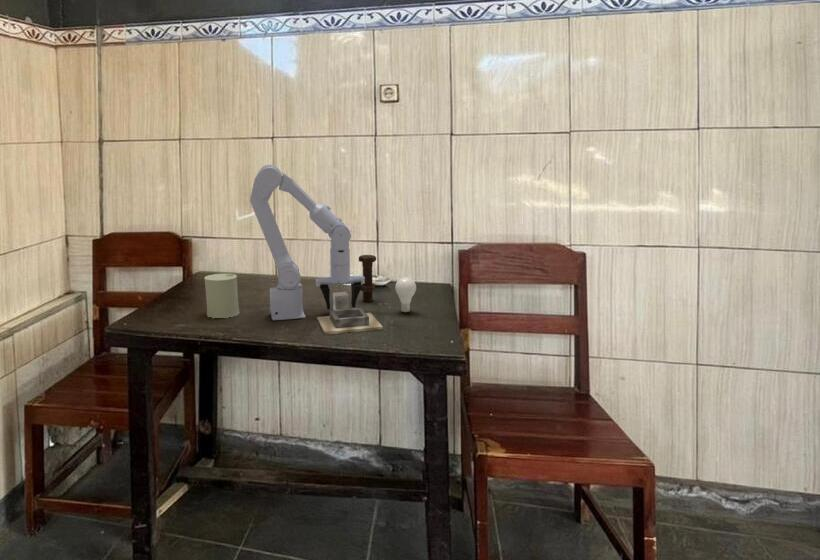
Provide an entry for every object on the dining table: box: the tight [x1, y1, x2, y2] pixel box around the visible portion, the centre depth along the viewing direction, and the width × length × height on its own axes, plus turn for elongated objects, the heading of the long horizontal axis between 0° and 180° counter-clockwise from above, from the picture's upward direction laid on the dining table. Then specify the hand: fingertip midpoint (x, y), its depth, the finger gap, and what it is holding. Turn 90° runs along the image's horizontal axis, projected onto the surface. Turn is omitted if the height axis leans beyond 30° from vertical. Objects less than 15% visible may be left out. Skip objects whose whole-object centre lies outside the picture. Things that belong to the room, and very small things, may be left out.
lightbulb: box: [394, 276, 417, 314], centre depth 163 cm, size 6×6×11 cm
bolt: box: [358, 254, 377, 303], centre depth 175 cm, size 6×5×15 cm
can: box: [204, 273, 240, 319], centre depth 159 cm, size 9×9×12 cm
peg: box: [332, 291, 350, 310], centre depth 163 cm, size 4×4×6 cm
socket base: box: [316, 307, 384, 336], centre depth 152 cm, size 16×14×3 cm
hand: (340, 307), depth 163 cm, fingers open, 7 cm apart
